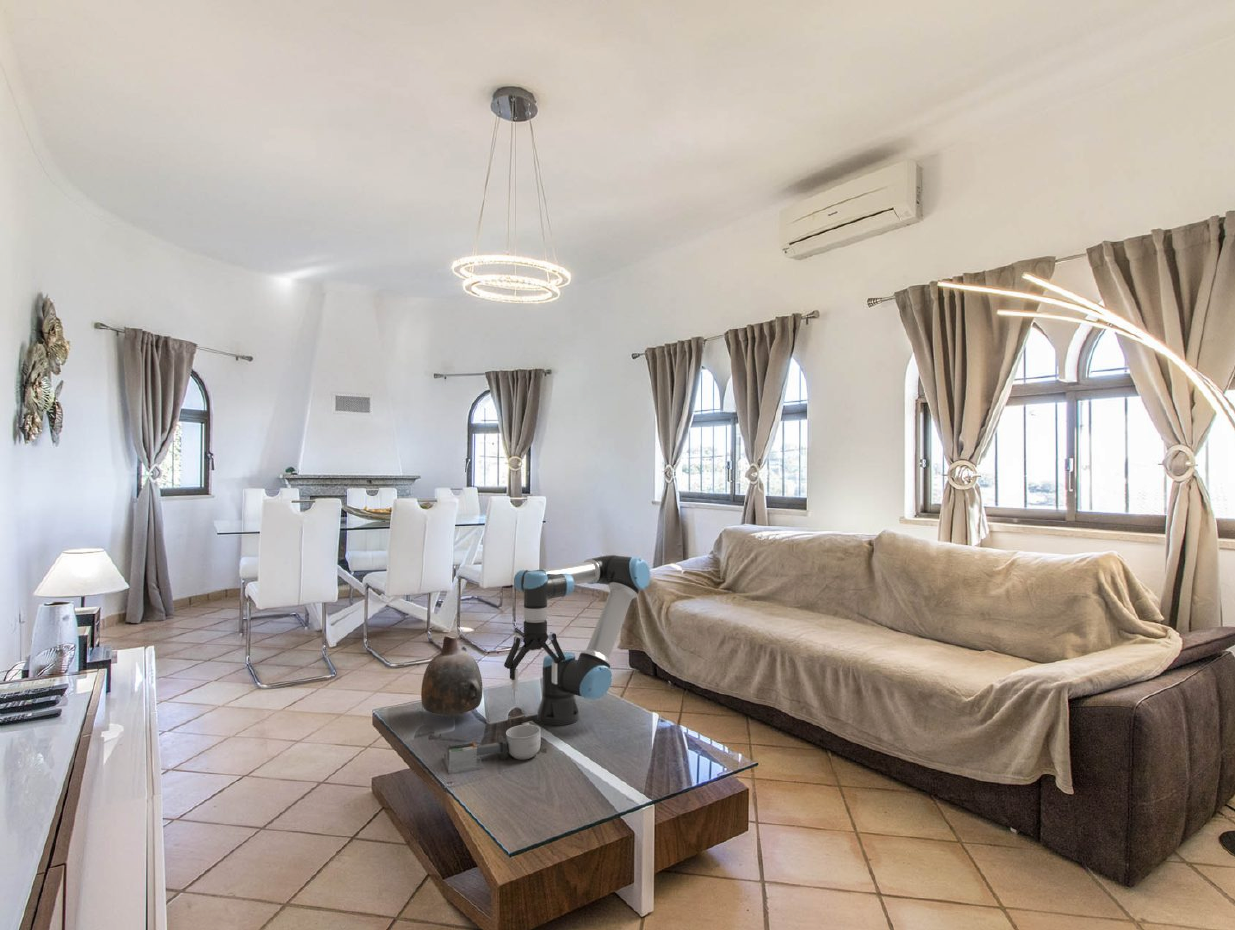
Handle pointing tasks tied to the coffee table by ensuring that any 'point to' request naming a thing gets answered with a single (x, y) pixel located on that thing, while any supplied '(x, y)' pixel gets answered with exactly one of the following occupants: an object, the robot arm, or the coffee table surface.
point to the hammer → (493, 748)
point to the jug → (451, 682)
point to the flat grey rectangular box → (462, 758)
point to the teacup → (523, 741)
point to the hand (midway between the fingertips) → (535, 686)
